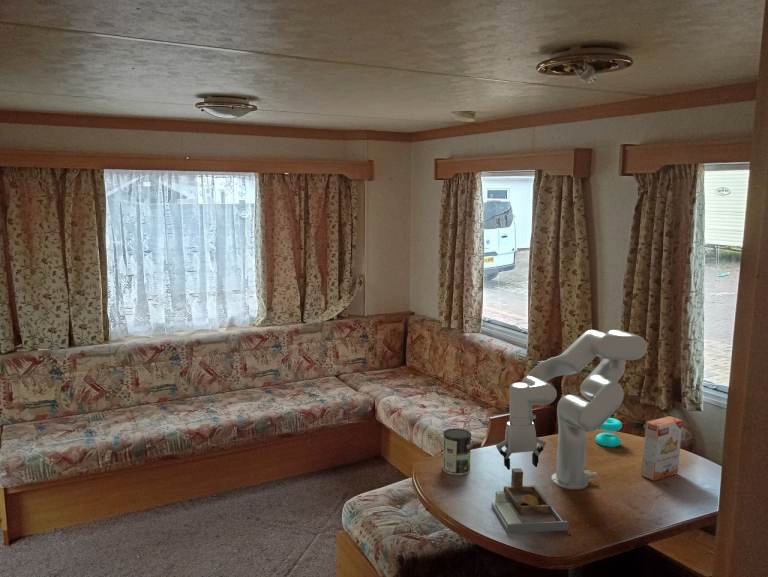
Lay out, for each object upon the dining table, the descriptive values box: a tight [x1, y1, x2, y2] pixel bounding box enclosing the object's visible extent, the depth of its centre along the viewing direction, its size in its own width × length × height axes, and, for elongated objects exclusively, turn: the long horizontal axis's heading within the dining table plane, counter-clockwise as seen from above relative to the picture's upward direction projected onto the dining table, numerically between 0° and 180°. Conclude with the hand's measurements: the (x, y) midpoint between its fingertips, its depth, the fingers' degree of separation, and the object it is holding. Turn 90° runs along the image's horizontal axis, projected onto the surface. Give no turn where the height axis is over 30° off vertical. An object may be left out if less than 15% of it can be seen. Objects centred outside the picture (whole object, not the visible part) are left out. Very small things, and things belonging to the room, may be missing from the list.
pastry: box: [516, 494, 540, 506], centre depth 209 cm, size 9×7×4 cm
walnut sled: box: [502, 467, 552, 516], centre depth 212 cm, size 11×19×7 cm, turn 7°
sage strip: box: [494, 490, 522, 524], centre depth 201 cm, size 4×18×4 cm, turn 7°
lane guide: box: [491, 502, 569, 534], centre depth 200 cm, size 19×17×3 cm
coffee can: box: [442, 428, 472, 476], centre depth 236 cm, size 10×10×14 cm
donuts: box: [595, 417, 623, 448], centre depth 264 cm, size 10×10×10 cm
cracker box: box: [640, 415, 684, 482], centre depth 233 cm, size 14×6×21 cm, turn 121°
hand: (521, 466), depth 220 cm, fingers open, 9 cm apart
